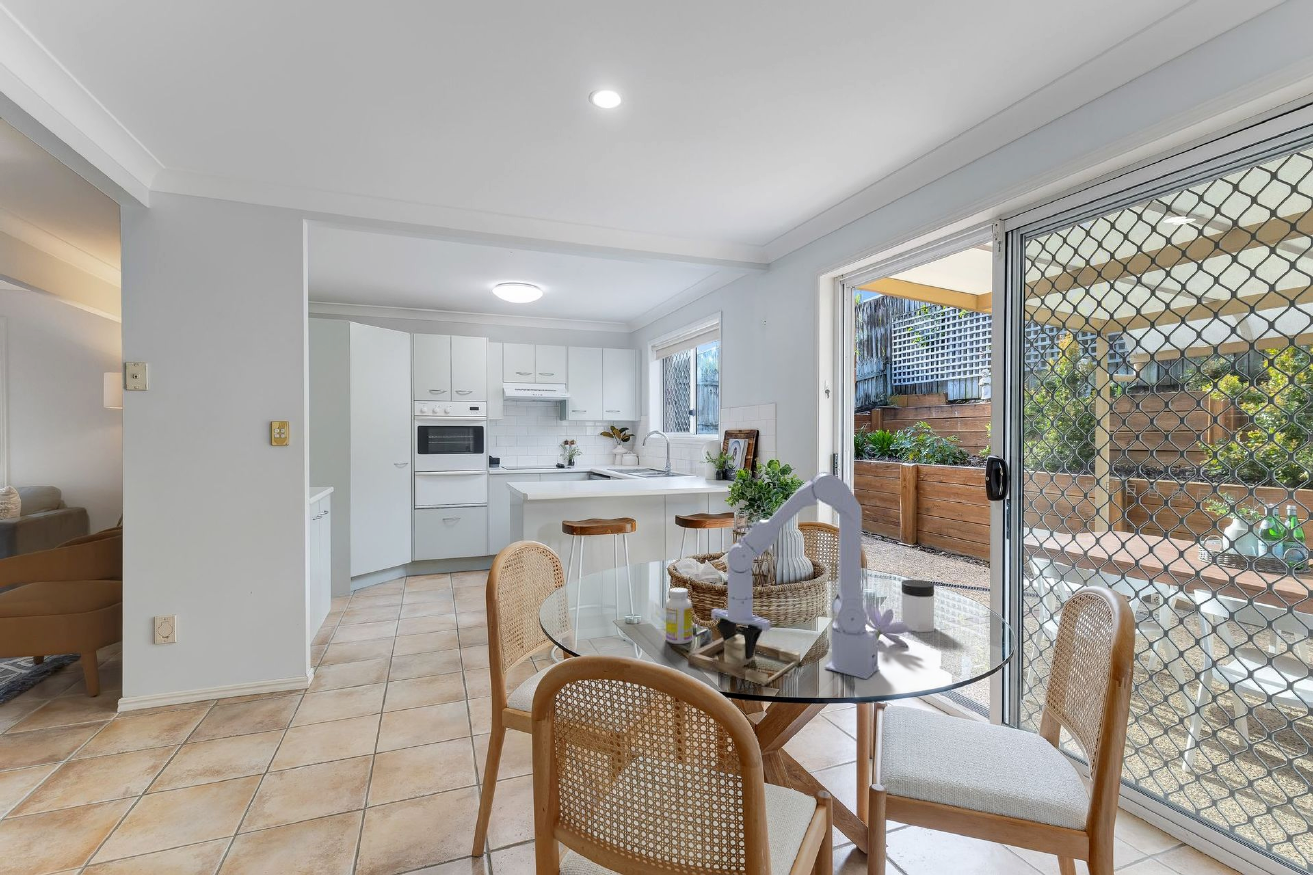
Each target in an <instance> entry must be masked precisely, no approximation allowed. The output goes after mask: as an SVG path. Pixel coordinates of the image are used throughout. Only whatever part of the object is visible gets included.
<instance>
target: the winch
mask: <svg viewBox="0 0 1313 875" xmlns="http://www.w3.org/2000/svg"><path fill="white" fill-rule="evenodd" d="M697 629H698V628H697V627H696V626H692V638H693V637H694V638H698V637H699V640H700V641H699V645H700V646H701V645H702V646H701V647H704V646H706V645H708V644H710V643H712V642H713V630H711V629H707V628H704V629H700V630H699V631H698V630H697Z"/></svg>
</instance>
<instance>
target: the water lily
mask: <svg viewBox="0 0 1313 875" xmlns="http://www.w3.org/2000/svg"><path fill="white" fill-rule="evenodd" d="M865 610H866V611H865V612H866V615H867V617H868V619H870V621H871V622H870V621H869V620H868V619H867V624H866V626H868V627H870V628H871V629H872V630H869V631H868V632H870V633H873V634H875V635H876V636H877V639H878V640H879V638H880V635H883V636H884V637H885V638H886V639H888V640H889V641H891V642H893V643H894V644H897V645H900V646H902V647H906V648H909V645H908V643H907V642H905V641H904V640H902V639H901V638H900V637H901V636H900V635H901V634H904V633H908V632H910V631H911V630H912V629H911V628H908V626H906V625H903V622H901V621H895V622H892V621H893V619H894V611H893V608H889V609H886V610H885V611H884V612H883V614H882V613H881V611H880V609H879V608H878V607H875V610H874V609H872V608H871V607H870V605H867V604H865ZM881 614H882V615H881ZM898 634H900V635H898Z"/></svg>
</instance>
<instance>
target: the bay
mask: <svg viewBox="0 0 1313 875" xmlns="http://www.w3.org/2000/svg"><path fill="white" fill-rule="evenodd" d="M723 647H724V640H723V637H722V636H721V637H720V638H718V639H715V640H714V641H712V643H710V644H708V645H706V646H701V647H700V648H699V649H696V650H694V651H692V652H690V653H688V655H687V660H688V661H687V663H688V664H690V665H693V666H696V667H700V668H703V669H706V670H709V669H712V670H711V671H713V670H715V671H714V672H716V671H719V672H721V673H720V674H722V673H727V674H729V675H734V676H736V677H738V678H737V679H739V678H742V679H745V680H749V681H752V682H756V683H759V684H763V685H765V684H767V683H768V684H770V683H771V682H773V681H774V680H776V679H777V678H779V677H781V675H784V674H785V673H786V672H787V671H789V670H790V669H792V668H794V667H795V666H796V665H798V664H800V663H801V652H797V651H794V650H793V651H792V650H789V649H786V648H781V647H778V646H775V645H771V644H770V645H769V644H766V643H762V642H758V641H757V643H756V646H755V652H760V653H762V654H761V655H763V654H766V655H765V656H767V655H768V656H767V657H770V656H772V657H771V658H775V659H778V660H781V661H786V662H789V664H788V665H787V666H785V667H784V668H782V669H781V670H779V671H777V672H776V673H775V674H773V675H771V676H770V677H769V674H768V673H764V672H761V671H757V670H753V669H750V668H746V667H745V666H743V667H740V666H737V665H733V664H730V663H727V662H724V660H723V661H722V660H720V659H716V658H712V657H711V656H713V655H714V653H715V652H717V653H718V651H719V650H720V649H722V648H723ZM722 650H723V649H722ZM719 652H720V651H719ZM712 654H713V655H712ZM715 654H716V653H715ZM719 672H718V673H719ZM729 675H728V676H729ZM742 679H741V680H742ZM745 680H744V681H745ZM772 680H773V681H772ZM749 681H748V682H749ZM752 682H751V683H752ZM769 682H770V683H769ZM768 684H767V685H768Z"/></svg>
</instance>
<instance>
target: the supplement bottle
mask: <svg viewBox="0 0 1313 875" xmlns="http://www.w3.org/2000/svg"><path fill="white" fill-rule="evenodd" d="M688 595H689V589H688V588H685V587H673V588H670V589H669V596H670V598H668V599H667V600H666V602H665V639H666V641H667V642H668V643H670V644H675V645H684V644H688V643H690V642H692V639H693V603H692V601H691V600H690V599H689V598H688Z"/></svg>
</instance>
